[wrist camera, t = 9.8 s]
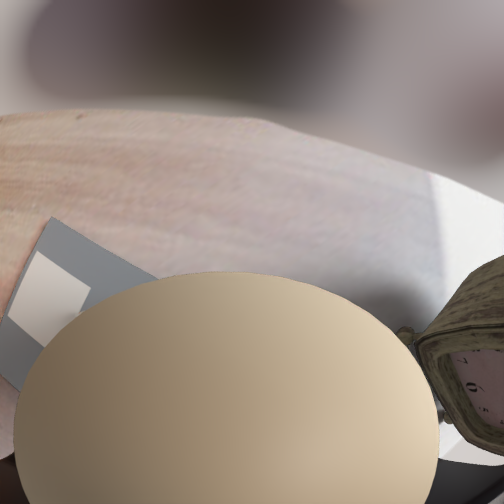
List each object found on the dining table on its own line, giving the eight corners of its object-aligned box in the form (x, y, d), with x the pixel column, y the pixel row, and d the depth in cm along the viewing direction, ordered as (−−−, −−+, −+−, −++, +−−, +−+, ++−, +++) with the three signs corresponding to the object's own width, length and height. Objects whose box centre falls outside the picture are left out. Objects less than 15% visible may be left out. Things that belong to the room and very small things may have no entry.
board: (197, 490, 17) (196, 497, 16) (-6, 361, 17) (-13, 361, 16) (275, 338, 21) (279, 338, 20) (56, 220, 21) (51, 215, 20)
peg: (233, 414, 15) (317, 624, 1) (159, 380, 15) (-3, 520, 1) (267, 344, 16) (485, 367, 3) (194, 309, 16) (118, 187, 2)
